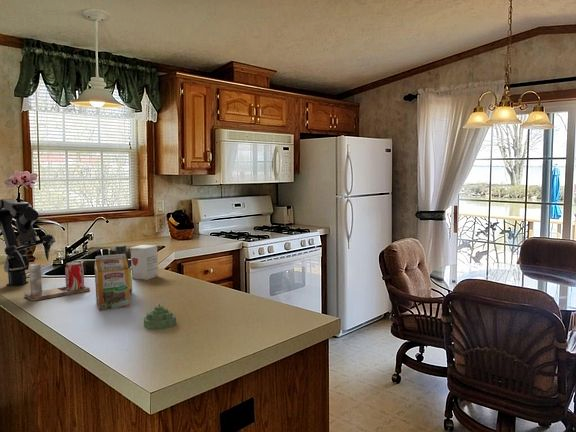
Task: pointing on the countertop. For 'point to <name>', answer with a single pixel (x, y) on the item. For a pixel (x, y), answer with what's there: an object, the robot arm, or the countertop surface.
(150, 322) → the decorative artifact
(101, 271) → the food package
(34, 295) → the brown board
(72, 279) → the soda can
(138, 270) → the supplement box
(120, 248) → the sauce bottle
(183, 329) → the countertop surface
